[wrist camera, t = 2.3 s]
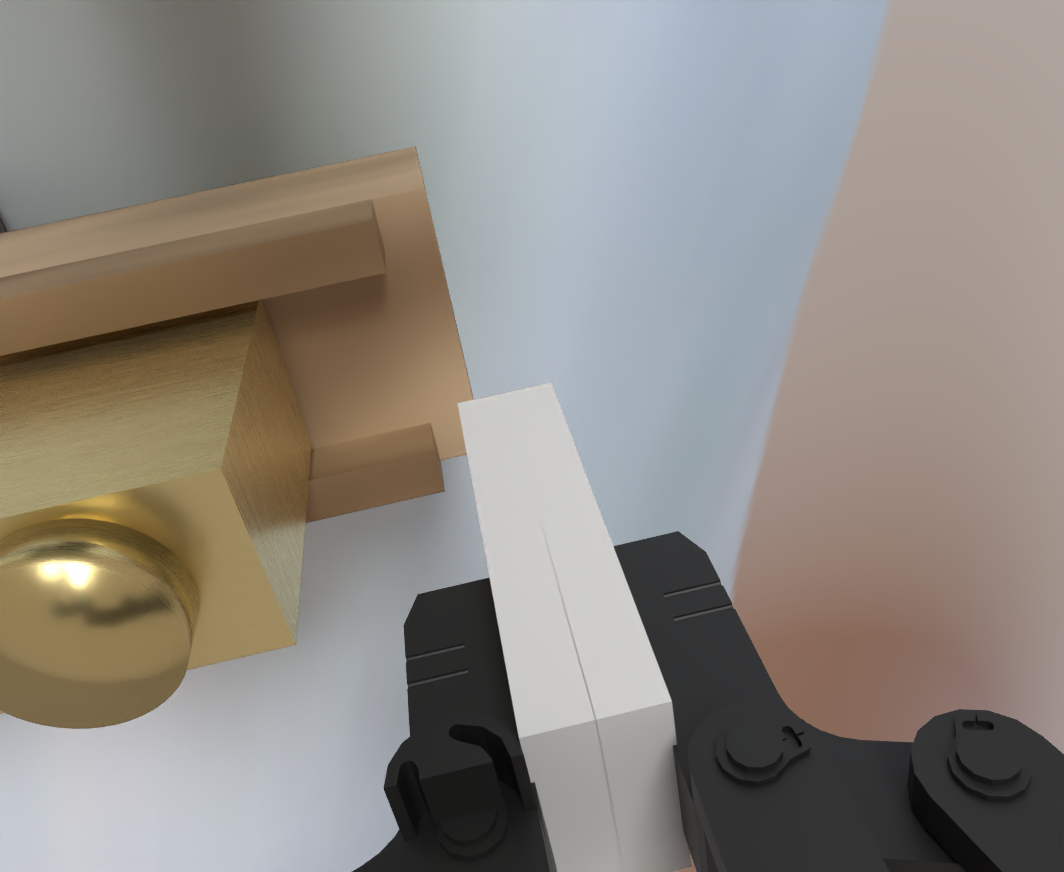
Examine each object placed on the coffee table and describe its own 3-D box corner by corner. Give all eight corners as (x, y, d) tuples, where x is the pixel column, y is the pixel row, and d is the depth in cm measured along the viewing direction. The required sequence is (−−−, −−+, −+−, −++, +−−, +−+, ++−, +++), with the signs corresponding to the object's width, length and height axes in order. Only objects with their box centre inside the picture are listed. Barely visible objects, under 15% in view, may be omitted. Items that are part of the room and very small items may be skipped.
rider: (-3, 351, 17) (-189, 603, 11) (260, 295, 17) (211, 512, 12) (74, 494, 19) (-51, 774, 13) (311, 441, 19) (292, 693, 13)
